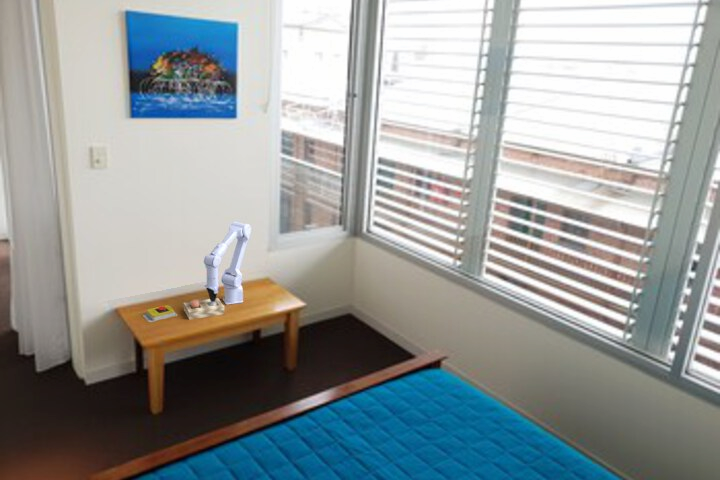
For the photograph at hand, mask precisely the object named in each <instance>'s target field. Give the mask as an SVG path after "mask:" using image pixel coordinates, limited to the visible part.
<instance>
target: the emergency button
mask: <svg viewBox="0 0 720 480" xmlns="http://www.w3.org/2000/svg"><path fill="white" fill-rule="evenodd" d="M177 316H178V314H177V313H176V312H175V310H174V309H173V308H172V307H171V306H170V305H169V304H166V305H162V306H161V305H160V306H157V307H154V308H149V309H147V310H146V313H145V314H142V317H143V318H144V319H145V320H146V321H147V323H152V322H157V321H161V320H165V319H169V318H172V317H177Z"/></svg>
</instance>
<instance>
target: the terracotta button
mask: <svg viewBox="0 0 720 480" xmlns="http://www.w3.org/2000/svg"><path fill="white" fill-rule="evenodd" d="M199 301H200V299H198V298H197V299H196V298H194V299H192V300H190V302H191V309H195V308H199Z"/></svg>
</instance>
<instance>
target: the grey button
mask: <svg viewBox="0 0 720 480" xmlns="http://www.w3.org/2000/svg"><path fill="white" fill-rule="evenodd" d="M215 305H217V302H215V301H213V302H209V306H215Z"/></svg>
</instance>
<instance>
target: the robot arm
mask: <svg viewBox="0 0 720 480" xmlns="http://www.w3.org/2000/svg"><path fill="white" fill-rule="evenodd" d="M228 228H229V229H228V230H229V231H228V232H227V233H226V235H225V236H224V239H223V240H222V241H221V242H220V243H218V244H217V245H216V246H215V247H213V249H212V250H211V252H210V253H208V254H206V255H205V256H204V258H203V259H204V260H203V263H204V265H205V268H206V284H204V288H205V289H206V291H207V293H208V296H209V299H210V301H211V302H213V301H215V299H216V298H217V295H218V294H219V292H220V289H219V285H220V284H219V265H221V261H222V258H223V257H224V255H225V254H226V252H227V251H228V246H229V245H230V244H231V243H232V242H233V241H234V240H235V239H237V242H236V245H235V248H234V252H233V255H232V259H231V262H230V265H229V267H228V268H227V269H225V270H224V272H223V274H222V276H221V283H222V284H223V286H224V297H223V298H222V300H223V302H224V304H225V305H234V304H240V303H241V304H242V303H244V290H243V286H242V278H243V273H242V272H241V271H240V269H241V266H242V262H243V260H244V256H245V251H246V248H247V245H248V242H249V239H250V237H251V236H250V235H251V234H252V233H251V232H252V227H251V225H250V224H248V223H244V222H243V223H242V222H238V221H236V220H234V221H233V222H231V224H230V225H229V227H228Z"/></svg>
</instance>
